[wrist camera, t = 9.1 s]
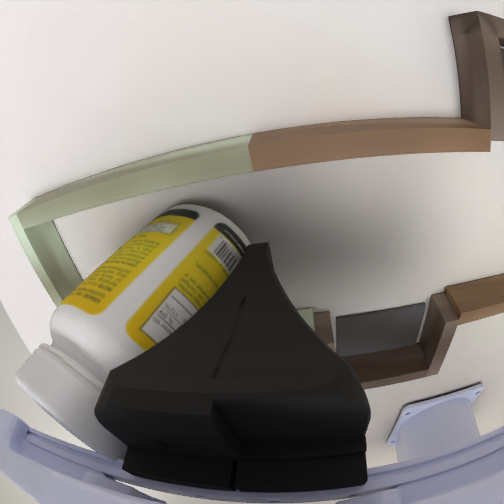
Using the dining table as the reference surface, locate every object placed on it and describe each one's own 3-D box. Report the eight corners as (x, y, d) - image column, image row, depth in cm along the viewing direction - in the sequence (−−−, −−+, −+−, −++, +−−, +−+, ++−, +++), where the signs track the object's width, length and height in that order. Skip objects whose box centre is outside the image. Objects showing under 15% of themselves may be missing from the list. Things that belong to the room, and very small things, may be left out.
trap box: (553, 307, 13) (565, 325, 11) (133, 371, 19) (124, 394, 17) (596, 72, 4) (618, 80, 2) (7, 125, 10) (-21, 136, 8)
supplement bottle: (151, 263, 14) (30, 396, 7) (167, 179, 11) (-23, 333, 4) (238, 316, 13) (140, 481, 7) (281, 242, 10) (143, 481, 4)
